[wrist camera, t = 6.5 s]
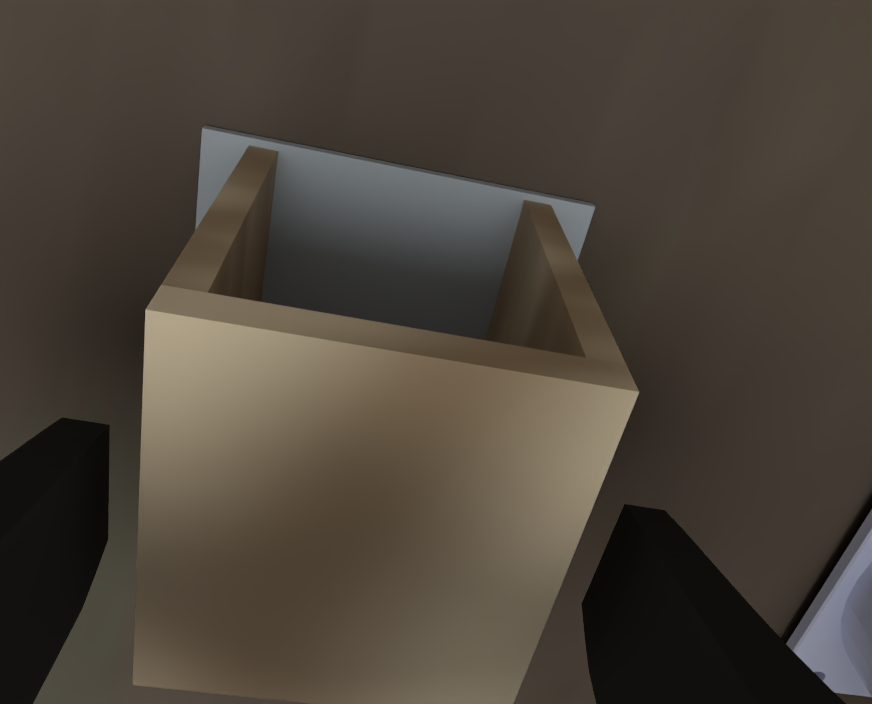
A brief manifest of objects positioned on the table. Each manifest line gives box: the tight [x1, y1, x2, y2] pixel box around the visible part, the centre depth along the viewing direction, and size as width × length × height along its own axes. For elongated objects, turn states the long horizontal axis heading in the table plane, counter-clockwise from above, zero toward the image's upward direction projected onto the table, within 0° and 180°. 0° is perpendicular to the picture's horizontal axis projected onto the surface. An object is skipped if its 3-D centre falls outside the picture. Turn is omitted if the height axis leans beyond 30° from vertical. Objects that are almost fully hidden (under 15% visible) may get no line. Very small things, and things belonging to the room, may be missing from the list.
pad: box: [195, 125, 595, 340], centre depth 16 cm, size 7×7×1 cm
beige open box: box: [133, 145, 639, 704], centre depth 13 cm, size 5×6×6 cm
